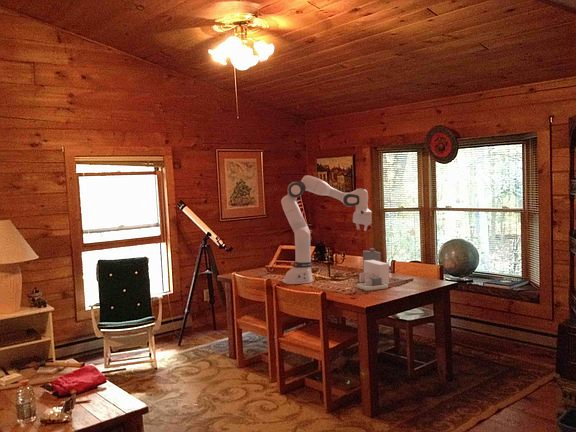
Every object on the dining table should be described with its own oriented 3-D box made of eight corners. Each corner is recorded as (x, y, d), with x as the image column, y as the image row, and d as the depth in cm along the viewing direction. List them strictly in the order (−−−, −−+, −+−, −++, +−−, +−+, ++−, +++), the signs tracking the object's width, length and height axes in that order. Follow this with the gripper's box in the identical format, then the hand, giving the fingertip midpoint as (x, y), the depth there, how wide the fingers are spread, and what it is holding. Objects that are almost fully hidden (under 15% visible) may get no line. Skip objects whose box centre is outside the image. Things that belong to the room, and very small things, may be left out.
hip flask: (362, 273, 417) (362, 247, 415) (365, 272, 420) (365, 247, 418) (378, 276, 405) (378, 249, 404) (382, 275, 408) (382, 249, 406)
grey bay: (370, 285, 372) (370, 265, 371) (355, 280, 390) (355, 261, 389) (389, 283, 378) (389, 263, 377) (373, 278, 396) (373, 259, 395)
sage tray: (366, 291, 357) (366, 287, 356) (356, 287, 367) (356, 283, 367) (388, 288, 364) (388, 284, 363) (378, 285, 374) (378, 281, 374)
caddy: (367, 288, 361) (367, 279, 361) (363, 286, 366) (363, 278, 365) (381, 286, 366) (381, 277, 365) (377, 285, 370) (377, 276, 370)
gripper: (350, 210, 398) (350, 229, 399) (365, 212, 379) (365, 231, 380) (358, 210, 400) (358, 228, 401) (373, 211, 381) (373, 231, 383)
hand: (361, 230), depth 391 cm, fingers open, 8 cm apart
